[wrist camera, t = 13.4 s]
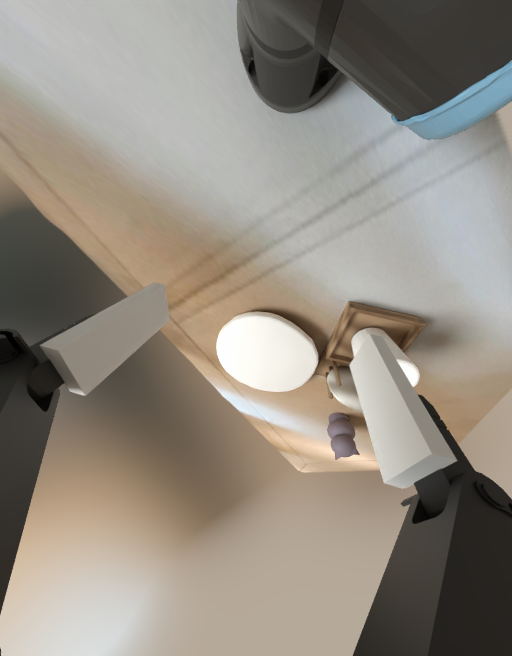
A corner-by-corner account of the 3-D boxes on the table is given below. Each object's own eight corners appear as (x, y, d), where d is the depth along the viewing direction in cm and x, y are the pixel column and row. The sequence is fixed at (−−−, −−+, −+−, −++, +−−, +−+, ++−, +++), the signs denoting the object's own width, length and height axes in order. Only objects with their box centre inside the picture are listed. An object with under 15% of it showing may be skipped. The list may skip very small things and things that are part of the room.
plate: (211, 378, 60) (214, 304, 45) (221, 364, 65) (226, 294, 50) (298, 411, 55) (334, 340, 40) (301, 393, 60) (333, 325, 45)
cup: (369, 313, 42) (391, 350, 31) (402, 335, 43) (434, 378, 33) (336, 341, 47) (346, 380, 37) (366, 360, 49) (384, 403, 38)
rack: (348, 301, 42) (366, 338, 31) (419, 317, 41) (465, 362, 30) (314, 370, 56) (317, 415, 44) (367, 384, 54) (385, 433, 43)
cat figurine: (342, 407, 62) (350, 446, 52) (356, 420, 64) (367, 459, 54) (321, 415, 66) (324, 452, 57) (334, 427, 68) (340, 464, 59)
